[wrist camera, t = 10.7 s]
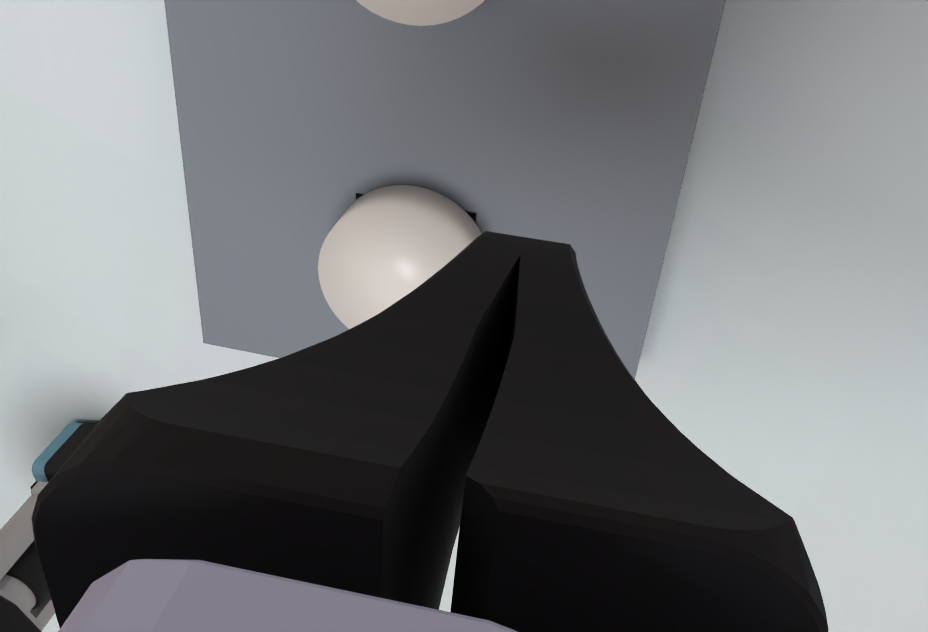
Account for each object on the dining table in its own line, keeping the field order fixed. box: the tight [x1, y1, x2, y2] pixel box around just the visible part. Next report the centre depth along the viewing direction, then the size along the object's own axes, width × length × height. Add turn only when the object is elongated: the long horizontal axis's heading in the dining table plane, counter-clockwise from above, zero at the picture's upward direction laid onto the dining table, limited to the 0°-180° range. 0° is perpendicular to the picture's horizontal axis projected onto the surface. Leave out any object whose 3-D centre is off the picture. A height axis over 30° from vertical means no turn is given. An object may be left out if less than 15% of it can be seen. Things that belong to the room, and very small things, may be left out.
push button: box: [0, 422, 97, 632], centre depth 29 cm, size 7×5×10 cm
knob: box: [318, 185, 482, 329], centre depth 21 cm, size 4×4×3 cm
